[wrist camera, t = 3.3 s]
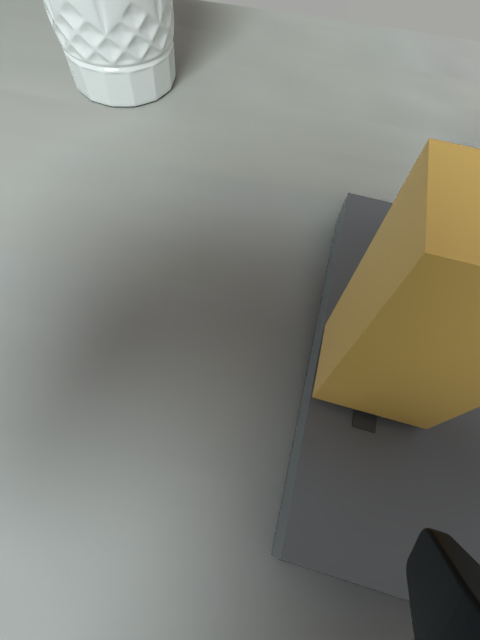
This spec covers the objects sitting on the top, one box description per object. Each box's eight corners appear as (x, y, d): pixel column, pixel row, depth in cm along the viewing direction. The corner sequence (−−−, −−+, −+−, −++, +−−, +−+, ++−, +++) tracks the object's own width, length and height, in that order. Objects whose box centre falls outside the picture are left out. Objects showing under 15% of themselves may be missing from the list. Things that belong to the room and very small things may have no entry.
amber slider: (426, 429, 13) (689, 316, 6) (312, 397, 13) (425, 253, 6) (428, 352, 14) (641, 184, 7) (325, 324, 14) (429, 138, 7)
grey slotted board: (620, 665, 12) (696, 692, 10) (271, 554, 13) (280, 559, 11) (553, 273, 19) (588, 247, 17) (336, 221, 20) (348, 191, 18)
